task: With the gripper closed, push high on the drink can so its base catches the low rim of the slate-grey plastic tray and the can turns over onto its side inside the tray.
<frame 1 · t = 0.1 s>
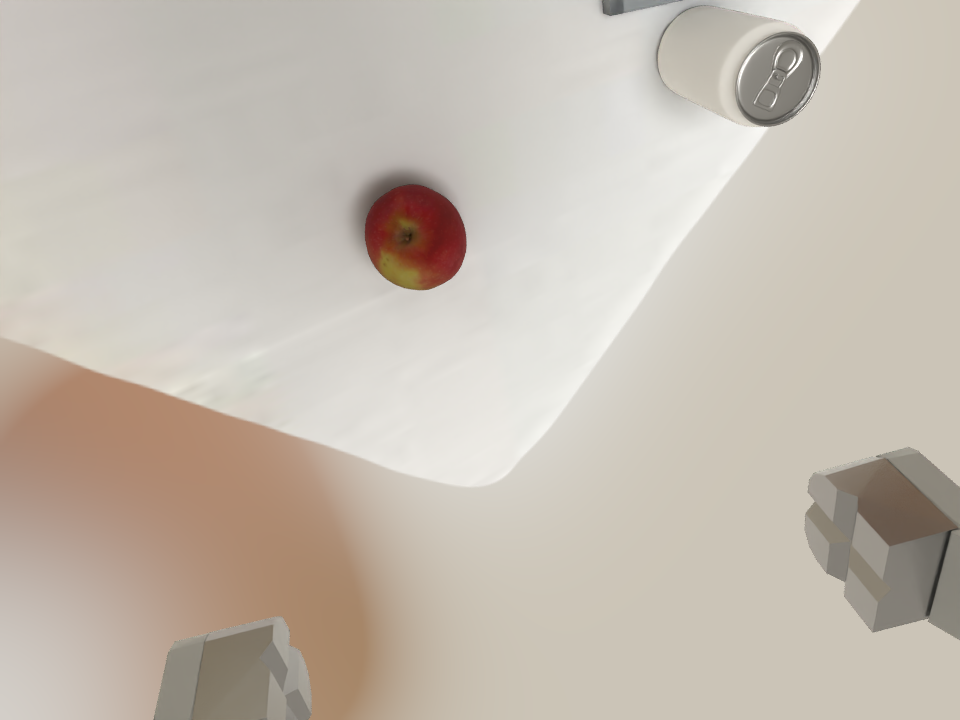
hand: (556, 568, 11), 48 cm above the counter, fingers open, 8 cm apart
can: (694, 51, 55), on the counter
apple: (410, 219, 58), on the counter
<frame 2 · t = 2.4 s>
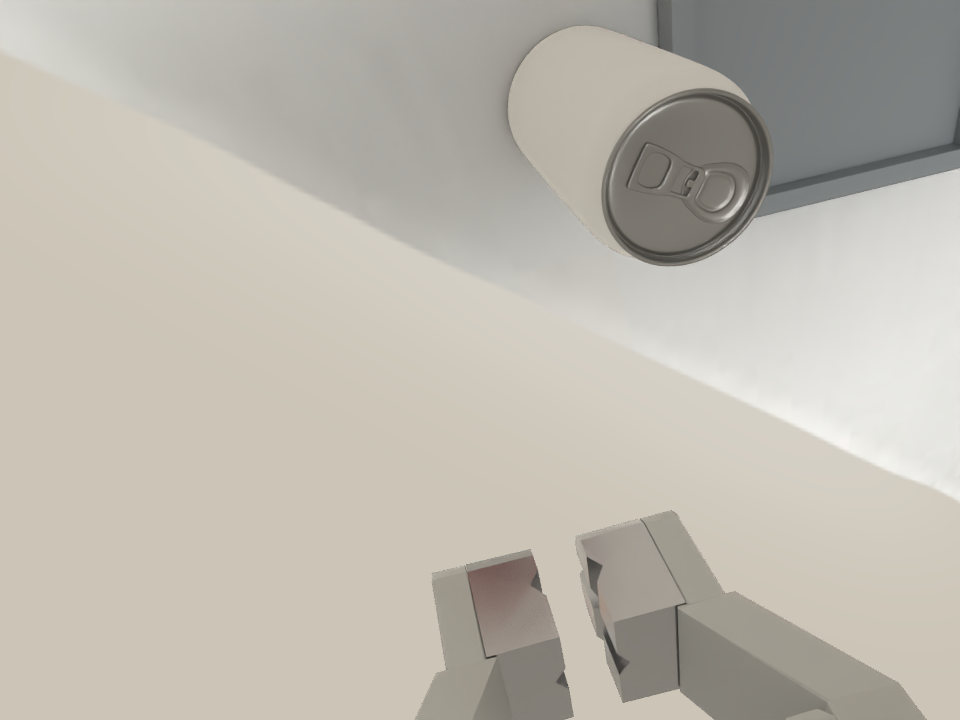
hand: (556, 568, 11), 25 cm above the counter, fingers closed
can: (574, 101, 33), on the counter
tray: (825, 45, 33), on the counter
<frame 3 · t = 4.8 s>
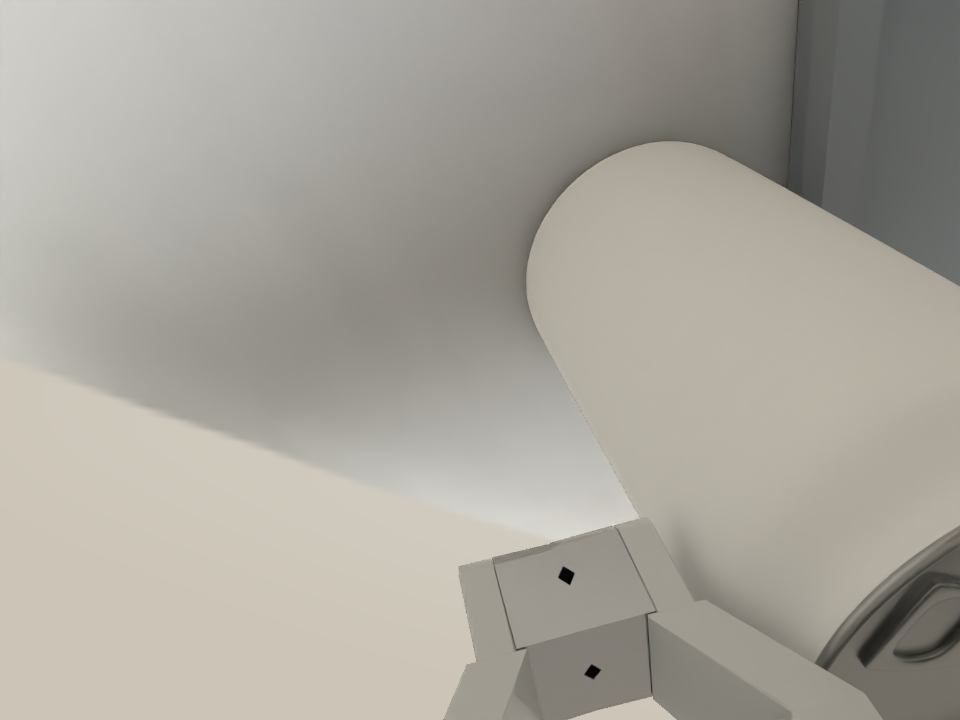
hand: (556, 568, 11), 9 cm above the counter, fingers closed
can: (638, 258, 19), on the counter, touching gripper
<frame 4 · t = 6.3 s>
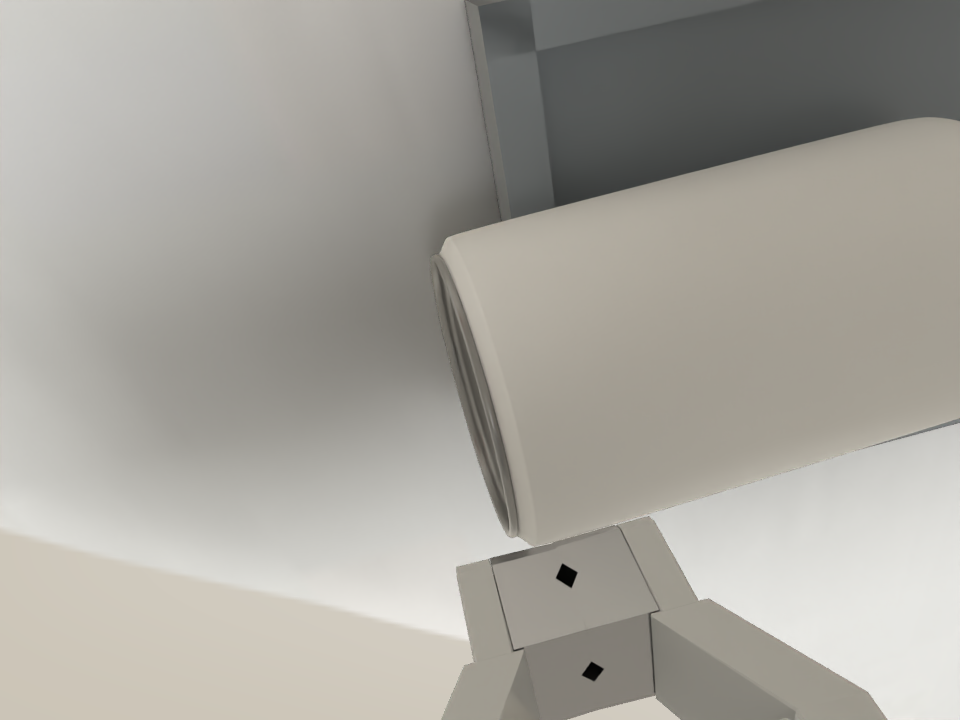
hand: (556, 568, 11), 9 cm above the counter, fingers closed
can: (458, 399, 15), point 4 cm above the counter, touching tray
tray: (806, 225, 19), on the counter
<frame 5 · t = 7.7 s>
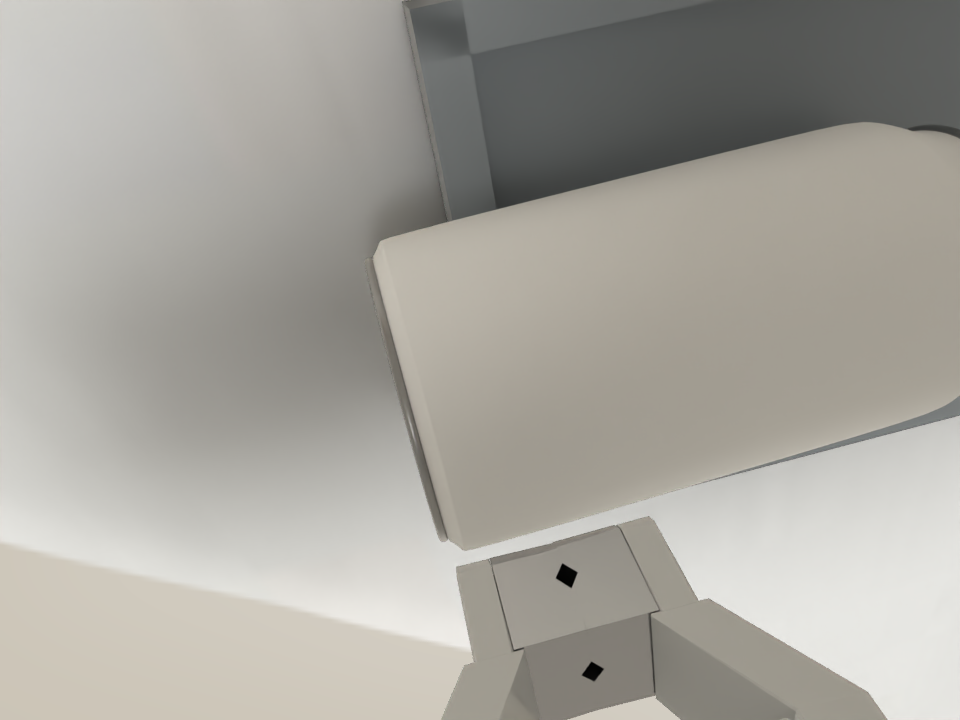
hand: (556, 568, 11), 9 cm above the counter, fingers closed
can: (393, 402, 15), point 4 cm above the counter, touching tray
tray: (758, 229, 19), on the counter
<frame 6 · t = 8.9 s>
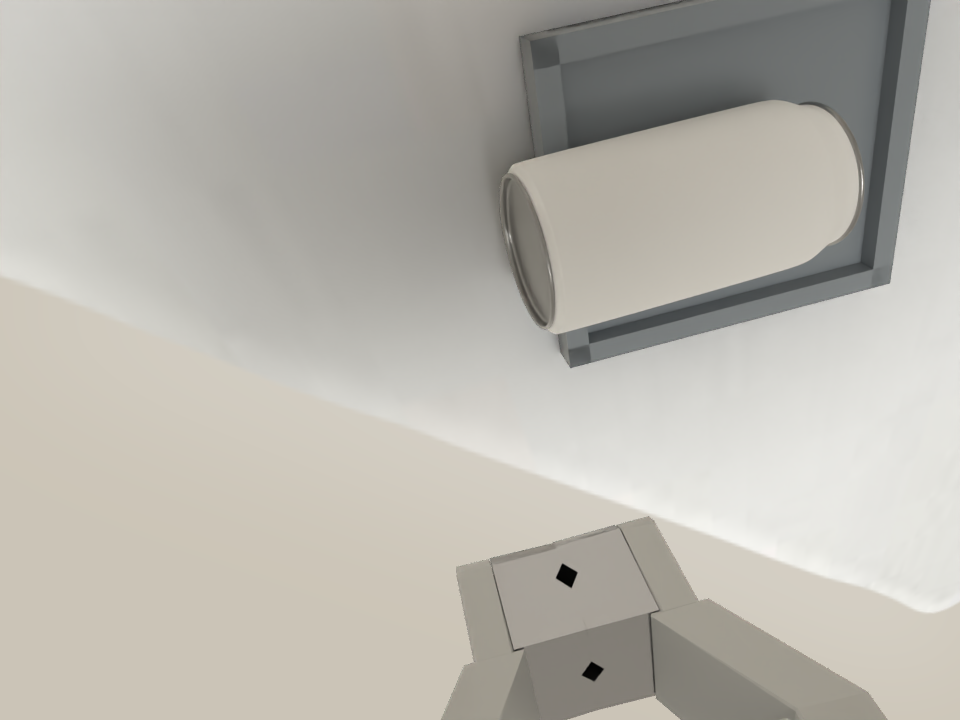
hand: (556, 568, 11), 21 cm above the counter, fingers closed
can: (518, 254, 27), point 4 cm above the counter, touching tray
tray: (718, 170, 31), on the counter
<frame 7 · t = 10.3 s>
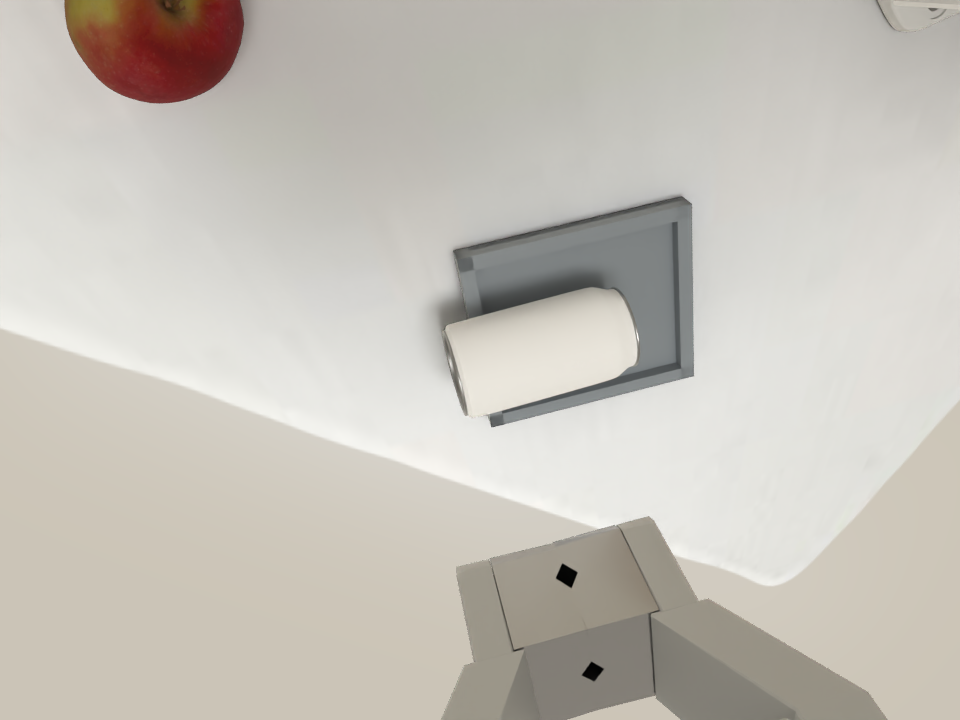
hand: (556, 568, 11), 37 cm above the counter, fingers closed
can: (450, 374, 48), point 4 cm above the counter, touching tray
apple: (172, 10, 38), on the counter
tray: (578, 313, 52), on the counter
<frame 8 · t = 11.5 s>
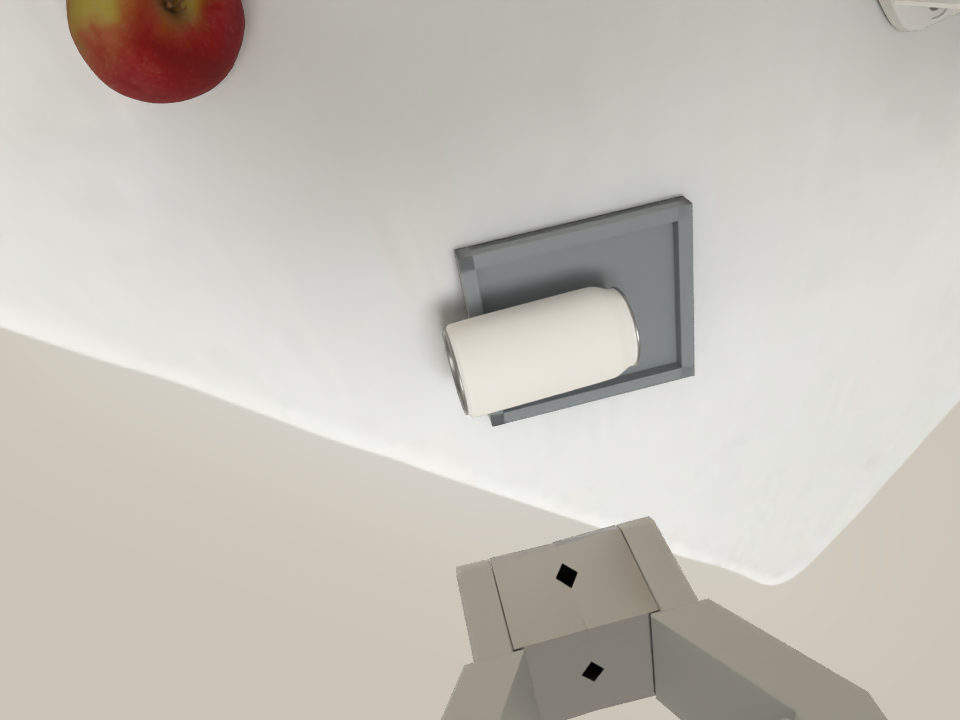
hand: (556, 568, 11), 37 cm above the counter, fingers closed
can: (451, 373, 48), point 4 cm above the counter, touching tray
apple: (173, 10, 38), on the counter
tray: (579, 312, 52), on the counter
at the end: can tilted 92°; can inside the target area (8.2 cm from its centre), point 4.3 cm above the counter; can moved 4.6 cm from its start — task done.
